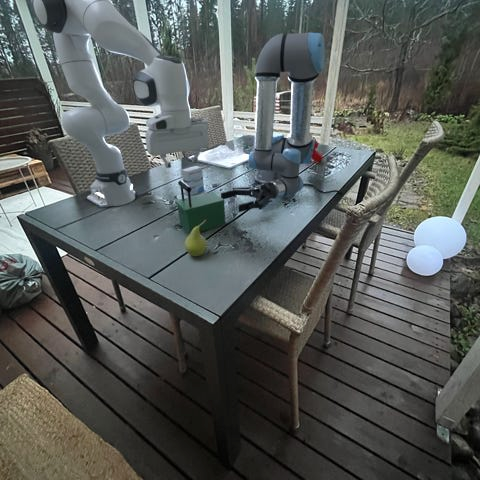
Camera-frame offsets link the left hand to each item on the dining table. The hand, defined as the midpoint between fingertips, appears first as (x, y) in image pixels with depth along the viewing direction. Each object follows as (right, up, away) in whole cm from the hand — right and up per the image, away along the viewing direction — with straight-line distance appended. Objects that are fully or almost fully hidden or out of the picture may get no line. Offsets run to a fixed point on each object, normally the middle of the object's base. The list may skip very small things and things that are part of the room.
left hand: (182, 164), depth 90 cm
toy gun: (+60, +24, +82) cm, 104 cm away
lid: (+4, -11, +10) cm, 16 cm away
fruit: (+5, -29, -1) cm, 30 cm away
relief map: (+7, +29, +90) cm, 94 cm away
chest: (+5, -19, +15) cm, 25 cm away
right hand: (+15, -10, +17) cm, 25 cm away
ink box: (-3, -2, +42) cm, 42 cm away
